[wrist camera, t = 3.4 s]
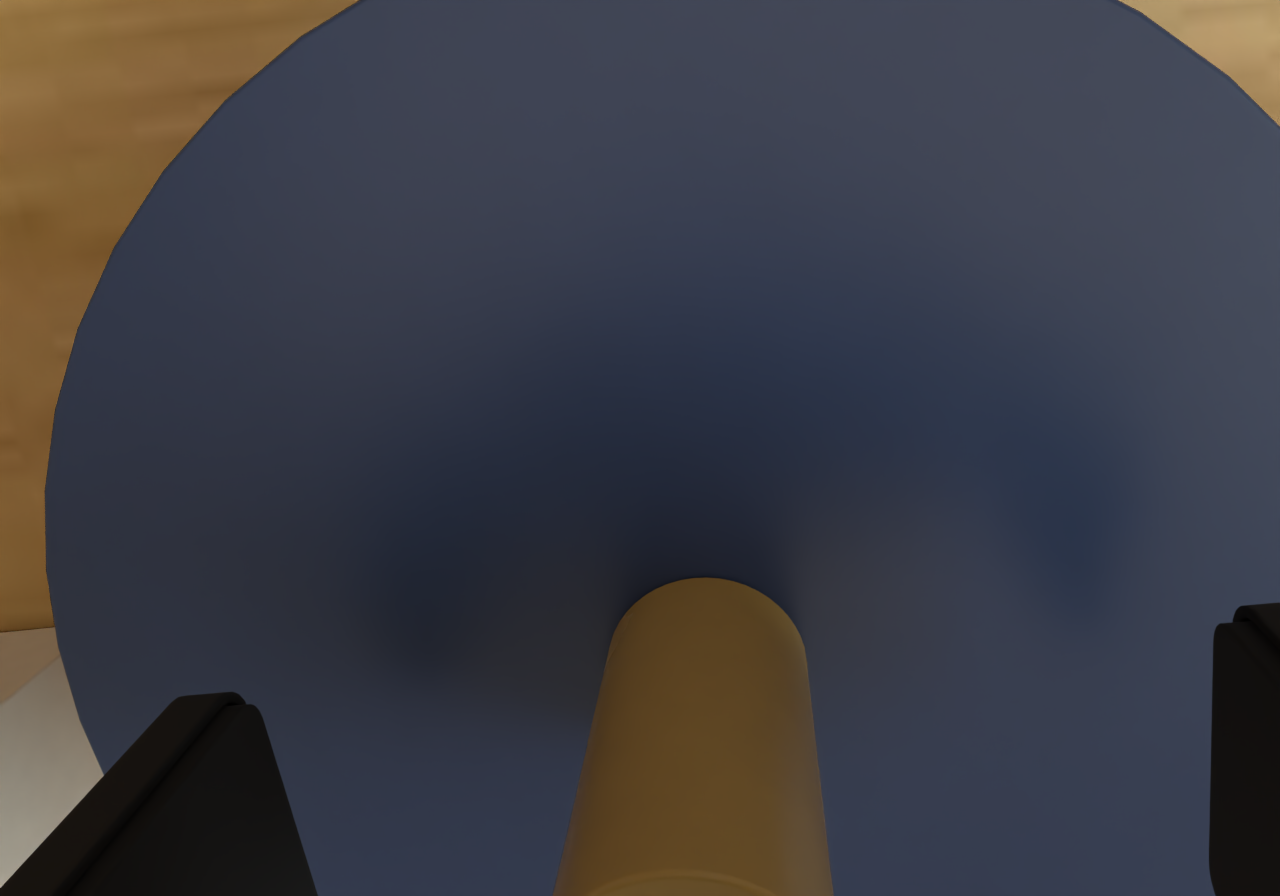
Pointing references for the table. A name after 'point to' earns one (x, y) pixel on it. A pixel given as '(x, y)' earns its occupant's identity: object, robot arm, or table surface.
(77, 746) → the packet
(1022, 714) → the tin lid
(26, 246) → the table surface
